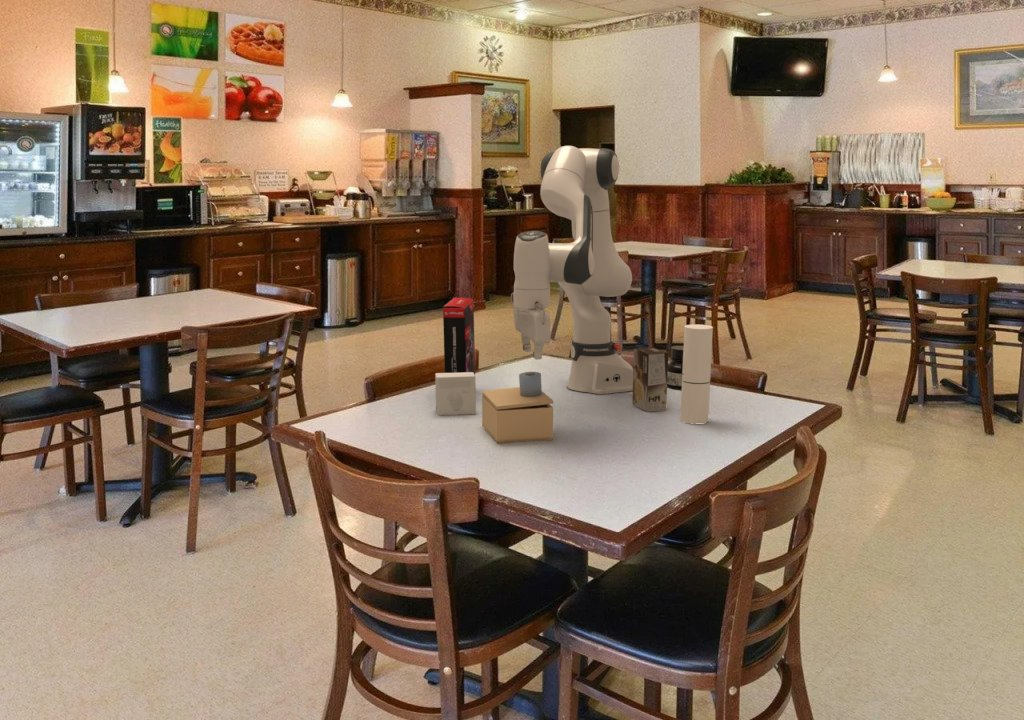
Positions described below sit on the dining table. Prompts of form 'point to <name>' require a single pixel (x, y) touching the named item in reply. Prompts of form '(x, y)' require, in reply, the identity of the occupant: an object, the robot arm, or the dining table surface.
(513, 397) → the lid flap
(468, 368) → the graphics card box
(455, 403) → the skincare box
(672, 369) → the ink bottle
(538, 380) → the tape roll
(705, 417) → the cylindrical container
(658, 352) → the coffee box
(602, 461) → the dining table surface
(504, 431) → the carton
